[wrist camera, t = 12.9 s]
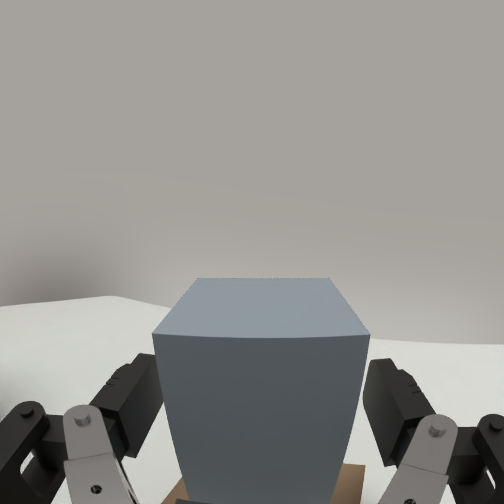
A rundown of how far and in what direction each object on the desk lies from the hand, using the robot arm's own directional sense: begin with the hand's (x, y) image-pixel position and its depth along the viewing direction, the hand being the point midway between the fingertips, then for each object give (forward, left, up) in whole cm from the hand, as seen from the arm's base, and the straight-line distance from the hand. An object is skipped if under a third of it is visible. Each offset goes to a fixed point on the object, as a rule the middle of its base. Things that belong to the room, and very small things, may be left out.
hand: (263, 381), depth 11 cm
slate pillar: (+1, -1, -8) cm, 8 cm away
